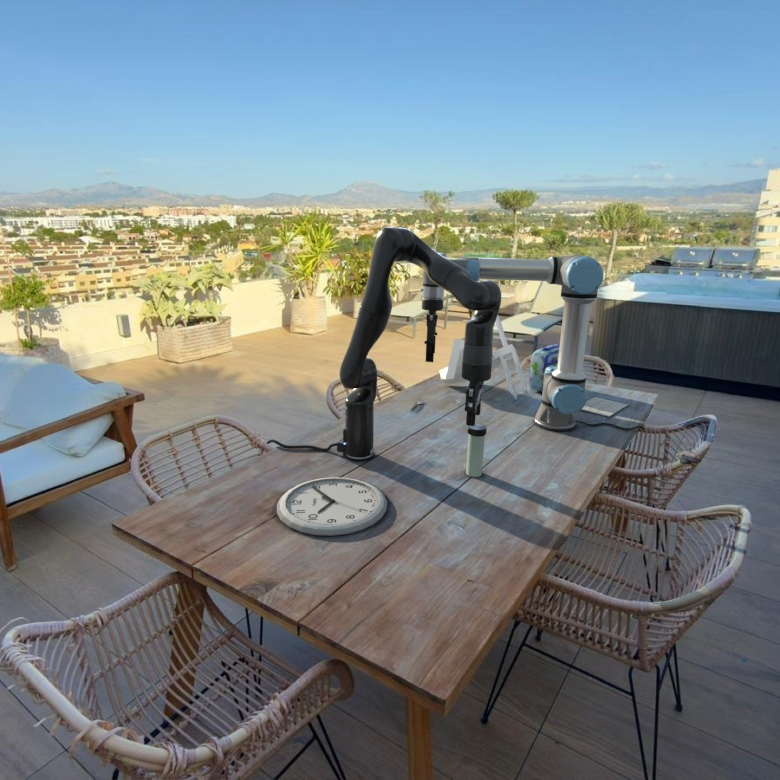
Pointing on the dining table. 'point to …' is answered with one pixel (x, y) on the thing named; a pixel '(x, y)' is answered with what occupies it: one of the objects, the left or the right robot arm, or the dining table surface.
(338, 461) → the dining table surface
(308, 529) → the wall clock
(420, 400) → the fork
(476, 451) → the jar
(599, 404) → the invitation card
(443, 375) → the white plastic object
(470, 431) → the lid
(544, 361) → the lunch box
